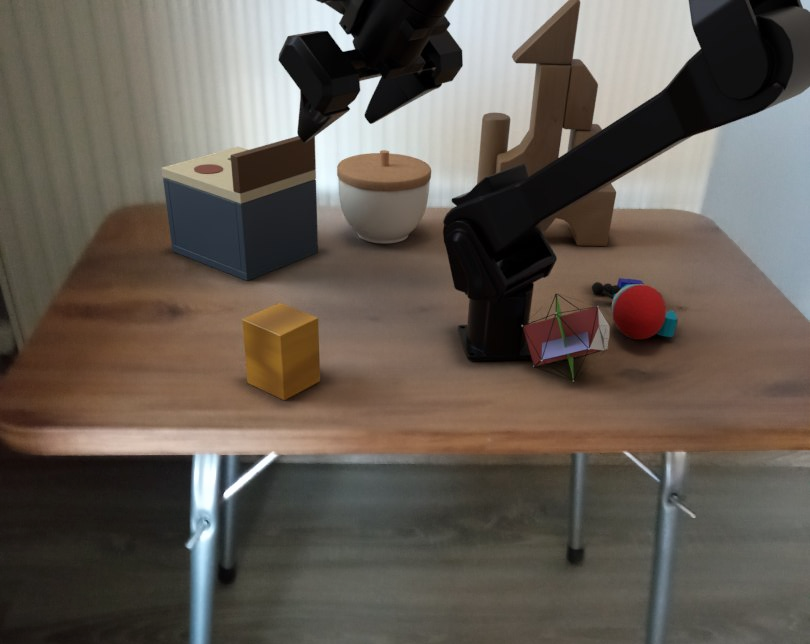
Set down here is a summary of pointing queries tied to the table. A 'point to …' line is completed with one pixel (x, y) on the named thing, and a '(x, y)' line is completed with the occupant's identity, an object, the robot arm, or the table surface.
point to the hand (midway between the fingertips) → (335, 128)
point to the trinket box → (383, 194)
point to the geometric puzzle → (567, 336)
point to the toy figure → (638, 309)
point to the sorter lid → (248, 170)
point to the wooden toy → (553, 121)
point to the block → (282, 350)
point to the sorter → (243, 228)
